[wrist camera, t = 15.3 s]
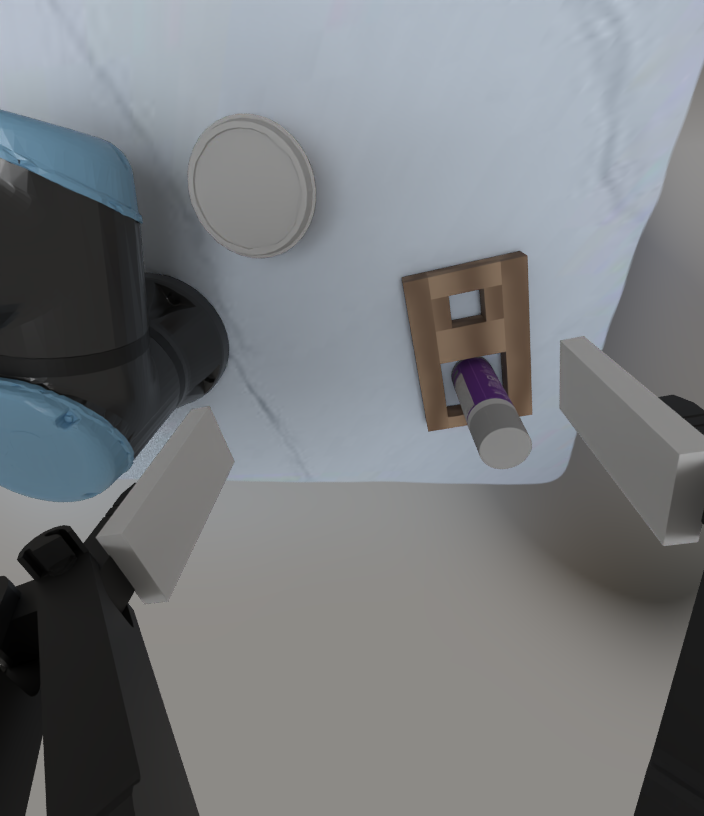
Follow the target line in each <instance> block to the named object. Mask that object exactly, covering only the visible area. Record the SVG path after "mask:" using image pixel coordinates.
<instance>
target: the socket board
mask: <svg viewBox="0 0 704 816" xmlns="http://www.w3.org/2000/svg"><path fill="white" fill-rule="evenodd" d="M402 283H403V288H404V294H405V300H406V306H407V312H408V317H409V323H410V329H411V335H412V341H413V346H414V352H415V358H416V364H417V370H418V375H419V381H420V387H421V393H422V399H423V404H424V410H425V416H426V422H427V427H428V432H429V431H435V430H441V429H447V428H453V427H459V426H465V425H467V422H466V419H465V416H464V413H463V411H462V408H461V405H460V404H459V405H454V406H448V407H446V400H445V393H444V386H443V379H442V372H441V365H440V364H443V363H448V362H453V361H459V360H464V359H469V358H474V357H480V356H485V355H490V354H496V353H501V365H502V380H503V388H504V390H505V391H506V393H507V395H508V397H509V398H510V400H511V402H512V404H513V405H514V407H515V409H516V411H517V413H518V415H519V417H520V416H526V415H532V390H531V357H530V323H529V290H528V257H527V255H526V254H524V253H522V252H521V251H517V252H513V253H508V254H504V255H500V256H495V257H491V258H486V259H482V260H477V261H473V262H468V263H464V264H459V265H455V266H450V267H446V268H441V269H437V270H432V271H428V272H423V273H419V274H415V275H410V276H406V277H402ZM474 290H479V292H480V304H481V315H476V316H471V317H466V318H461V319H456V320H451V312H450V304H449V296H451V295H456V294H460V293H465V292H470V291H474Z"/></svg>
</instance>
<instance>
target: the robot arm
mask: <svg viewBox="0 0 704 816" xmlns="http://www.w3.org/2000/svg"><path fill="white" fill-rule="evenodd" d="M140 223H143V221H142V216H141V215H140V214H139V213H138V206H137V199H136V192H135V185H134V178H133V171H132V168H131V165H130V163H129V161H128V159H127V158H126V156H125V155H124V154H123V153H122V152H121V151H120V150H119V149H118V148H117V147H116V146H114V145H113V144H111V143H110V142H108V141H106V140H103V139H100V138H97V137H94V136H91V135H88V134H85V133H81V132H78V131H75V130H71V129H68V128H64V127H61V126H57V125H54V124H50V123H47V122H43V121H40V120H36V119H33V118H29V117H26V116H22V115H18V114H15V113H11V112H7V111H4V110H0V486H2V487H4V488H6V489H9V490H11V491H13V492H16V493H18V494H21V495H24V496H28V497H31V498H35V499H40V500H46V501H53V502H74V501H81V500H85V499H89V498H92V497H94V496H96V495H97V494H100V493H102V492H103V491H104V490H106V489H107V488H108V487H110V485H112V484H113V483H114V482H115V481H116V480H117V479H118V478H119V477H120V476H121V475H122V474H123V473H125V472H127V471H128V470H129V469H130V467H131V466H132V464H133V463H134V462H133V460H134V459H135V458H136V457H137V455H138V454H139V453H140V452H141V450H142V449H143V448H144V447H145V446H146V444H147V443H148V442H149V441H150V439H151V438H152V437H153V436H154V434H155V433H156V432H157V431H158V429H159V428H160V427H161V426H162V425H163V423H164V422H165V421H166V420H167V418H168V417H169V416H170V415H171V413H172V412H173V411H174V410H175V409H176V408H179V407H181V406H183V405H186V404H188V403H191V402H193V401H195V400H197V399H199V398H201V397H203V396H204V395H205V394H207V393H208V392H209V391H210V390H211V389H212V388H213V387H214V385H215V384H216V383H217V381H218V380H219V379H220V377H221V376H222V374H223V372H224V370H225V368H226V365H227V361H228V355H229V345H228V338H227V334H226V331H225V328H224V325H223V323H222V321H221V319H220V317H219V315H218V314H217V312H216V311H215V309H214V308H213V307H212V305H211V304H210V303H209V302H208V301H207V300H206V299H205V298H204V297H203V296H202V295H201V294H200V293H199V292H197V291H196V290H195V289H193V288H192V287H190V286H189V285H187V284H185V283H183V282H181V281H179V280H177V279H175V278H172V277H169V276H165V275H161V274H154V273H144V262H143V251H142V239H141V227H140ZM560 410H561V411H562V412H563V414H564V415H565V416H566V418H567V419H568V420H569V422H570V423H571V424H572V426H573V427H574V428H575V430H576V431H577V432H578V434H579V435H580V436H581V438H582V439H583V440H584V441H585V443H586V444H587V445H588V447H589V448H590V449H591V451H592V452H593V453H594V455H595V456H596V457H597V459H598V460H599V461H600V463H601V464H602V465H603V467H604V468H605V469H606V471H607V472H608V473H609V474H610V476H611V477H612V479H613V480H614V481H615V483H616V484H617V485H618V487H619V488H620V489H621V490H622V492H623V493H624V495H625V496H626V497H627V499H628V500H629V501H630V503H631V504H632V505H633V507H634V508H635V509H636V511H637V512H638V513H639V514H640V516H641V517H642V518H643V520H644V521H645V522H646V524H647V525H648V526H649V528H650V529H651V530H652V532H653V533H654V534H655V535H656V537H657V538H658V539H659V541H660V542H661V544H662V545H663V546H667V545H676V544H685V543H694V542H698V540H699V536H700V532H701V528H702V523H703V524H704V410H703V409H702V408H700V407H699V406H698V405H696V404H695V403H693V402H691V401H688V400H686V399H683V398H681V397H678V396H675V395H669V396H663V397H657V396H655V395H654V394H653V393H652V392H651V391H650V390H648V389H647V388H646V387H645V386H643V385H642V384H641V383H640V382H639V381H637V380H636V379H635V378H634V377H633V376H631V375H630V374H629V373H628V372H627V371H625V370H624V369H623V368H622V367H620V366H619V365H618V364H617V363H616V362H614V361H613V360H612V359H611V358H609V357H608V356H607V355H606V354H605V353H604V352H602V351H601V350H600V349H599V348H597V347H596V346H595V345H594V344H593V343H591V342H590V341H589V340H588V339H587V338H585V337H584V336H582V337H576V338H571V339H565V340H560ZM234 462H235V461H234V459H233V457H232V455H231V453H230V450H229V448H228V446H227V444H226V441H225V439H224V437H223V435H222V433H221V430H220V428H219V426H218V424H217V421H216V419H215V417H214V415H213V413H212V410H211V408H210V406H207V407H201V408H196V409H191V411H190V412H189V413H188V415H187V416H186V417H185V419H184V420H183V421H182V423H181V424H180V425H179V427H178V428H177V429H176V431H175V432H174V433H173V435H172V436H171V437H170V439H169V440H168V441H167V443H166V444H165V445H164V447H163V448H162V449H161V451H160V452H159V453H158V455H157V456H156V457H155V459H154V460H153V461H152V463H151V464H150V465H149V467H148V468H147V469H146V471H145V472H144V473H143V475H142V476H141V477H140V479H139V480H138V481H137V483H134V484H133V485H132V486H131V487H129V488H128V489H127V490H126V491H124V492H123V493H122V494H121V495H120V497H119V498H118V499H117V501H116V502H115V503H114V505H113V508H110V509H109V511H108V512H107V513H106V515H105V517H104V518H103V519H102V520H101V521H100V523H99V524H98V525H97V526H96V528H95V529H94V530H93V532H92V533H91V534H90V535H89V537H88V538H87V539H86V541H85V542H84V543H82V541H81V540H80V539H79V537H78V536H77V535H76V533H75V532H74V531H73V530H72V528H71V527H70V526H65V525H63V526H58V527H54V528H52V529H50V530H47V531H45V532H43V533H42V534H40V535H39V536H37V537H35V538H34V539H33V540H32V541H30V542H29V543H28V544H27V545H26V546H25V547H24V548H23V549H22V551H21V552H20V553H19V556H18V559H17V560H18V562H19V563H20V564H21V565H22V566H23V567H24V568H25V570H26V571H27V572H28V573H29V574H30V575H31V576H32V577H33V579H34V580H32V581H30V582H27V583H24V584H21V585H19V586H16V587H15V586H14V585H13V583H12V582H11V581H10V580H8V579H7V577H5V576H0V664H1V665H0V816H25V813H26V809H27V804H28V800H29V795H30V791H31V786H32V781H33V777H34V772H35V768H36V763H37V759H38V754H39V750H40V745H41V740H42V736H43V745H44V766H45V785H46V787H45V788H46V809H47V816H199V813H198V810H197V807H196V803H195V800H194V797H193V794H192V791H191V788H190V785H189V782H188V778H187V775H186V772H185V769H184V766H183V763H182V760H181V757H180V753H179V750H178V747H177V744H176V741H175V738H174V735H173V732H172V728H171V725H170V722H169V719H168V716H167V713H166V710H165V707H164V703H163V700H162V698H161V694H160V691H159V688H158V685H157V682H156V678H155V676H154V672H153V669H152V666H151V663H150V660H149V657H148V653H147V650H146V647H145V644H144V641H143V638H142V635H141V632H140V628H139V625H138V622H137V619H136V616H135V613H134V610H133V609H132V608H131V606H130V605H129V604H128V602H129V600H130V598H131V596H132V595H133V593H134V591H135V592H136V594H137V595H138V596H139V598H140V599H141V600H142V602H143V603H144V604H151V603H160V602H167V601H169V599H170V596H171V594H172V592H173V590H174V588H175V586H176V584H177V582H178V580H179V578H180V576H181V573H182V571H183V569H184V567H185V565H186V563H187V561H188V559H189V557H190V554H191V552H192V550H193V548H194V546H195V544H196V542H197V540H198V538H199V535H200V533H201V531H202V529H203V527H204V525H205V523H206V521H207V519H208V516H209V514H210V512H211V510H212V508H213V506H214V504H215V502H216V500H217V497H218V495H219V493H220V491H221V489H222V487H223V485H224V483H225V481H226V478H227V476H228V474H229V472H230V470H231V468H232V466H233V464H234ZM634 816H704V572H703V575H702V579H701V582H700V586H699V590H698V593H697V597H696V600H695V604H694V607H693V611H692V614H691V618H690V621H689V625H688V628H687V632H686V636H685V639H684V642H683V646H682V650H681V653H680V657H679V660H678V664H677V668H676V671H675V675H674V678H673V681H672V685H671V689H670V692H669V696H668V699H667V703H666V706H665V710H664V713H663V717H662V720H661V724H660V728H659V732H658V735H657V738H656V742H655V745H654V749H653V752H652V756H651V759H650V762H649V765H648V768H647V771H646V775H645V778H644V782H643V785H642V788H641V792H640V795H639V799H638V802H637V806H636V810H635V813H634Z"/></svg>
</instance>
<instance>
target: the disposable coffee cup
mask: <svg viewBox="0 0 704 816" xmlns="http://www.w3.org/2000/svg"><path fill="white" fill-rule="evenodd" d="M188 189H189V195H190V198H191V203H192V206H193V208H194V210H195V212H196V215H197V217H198V219H199V220H200V222H201V224H202V225H203V226H204V228H205V229H206V231H207V232H208V233H209V234H210V235H211V236H212V237H213V238H214V239H215V240H216V241H217V242H218V243H220V244H221V245H222V246H224V247H225V248H227V249H228V250H230V251H232V252H234V253H237V254H239V255H242V256H246V257H250V258H268V257H273V256H276V255H279V254H282V253H284V252H286V251H287V250H289V249H290V248H292V247H293V246H294V245H295V244H296V243H297V242H298V241H299V240H300V239H301V238H302V237H303V235H304V234H305V232H306V230H307V229H308V227H309V225H310V222H311V220H312V217H313V214H314V210H315V202H316V187H315V179H314V175H313V172H312V168H311V165H310V162H309V160H308V158H307V156H306V154H305V153H304V151H303V149H302V147H301V146H300V145H299V143H298V142H297V141H296V140H295V138H294V137H293V136H292V135H291V134H290V133H289V132H287V131H286V130H285V129H284V128H283V127H281V126H280V125H278V124H277V123H275V122H273V121H271V120H269V119H267V118H265V117H262V116H258V115H254V114H235V115H230V116H226V117H224V118H222V119H220V120H217V121H216V122H214V123H213V124H212V125H211V126H209V127H208V128H207V129H206V130H205V131H204V132H203V133H202V135H201V136H200V137H199V138H198V140H197V142H196V144H195V146H194V148H193V150H192V153H191V157H190V160H189V166H188Z"/></svg>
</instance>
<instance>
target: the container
mask: <svg viewBox="0 0 704 816" xmlns="http://www.w3.org/2000/svg"><path fill="white" fill-rule="evenodd" d="M451 377H452V382H453V385H454V388H455V391H456V393H457V396H458V399H459V402H460V405H461V408H462V411H463V413H464V416H465V419H466V422H467V425H468V428H469V430H470V433H471V435H472V437H473V440H474V442H475V445H476V447H477V450H478V452H479V455H480V457H481V459H482V461H483V462H484V463H485V464H486V465H488V466H490V467H492V468H496V469H508V468H512V467H515V466H517V465H519V464H520V463H522V462H523V461H524V460H525V459H526V458H527V457H528V456H529V454H530V452H531V448H532V442H531V439H530V437H529V435H528V433H527V431H526V429H525V427H524V425H523V423H522V421H521V419H520V417H519V415H518V413H517V411H516V409H515V407H514V405H513V404H512V402H511V400H510V398H509V397H508V395H507V393H506V391H505V390H504V388H503V386H502V384H501V383H500V381H499V379H498V377H497V376H496V374H495V372H494V370H493V369H492V367H491V365H490V364H489V362H488V361H487V360H486V359H484V358H482V357H474V358H469V359H464V360H460V361H459V362H458V363H457V364H456V365H455V366H454V368H453V370H452V374H451Z"/></svg>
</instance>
